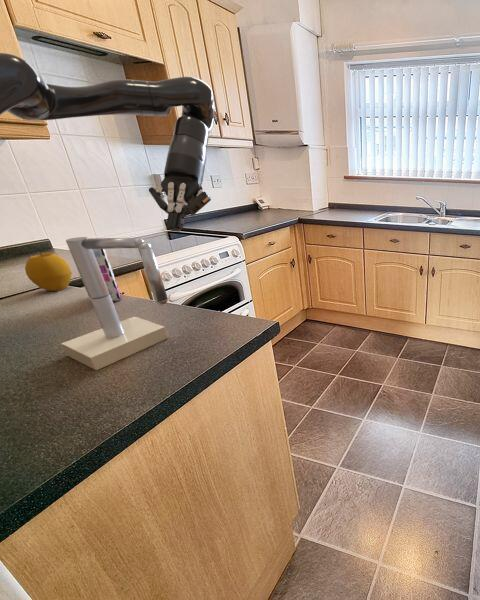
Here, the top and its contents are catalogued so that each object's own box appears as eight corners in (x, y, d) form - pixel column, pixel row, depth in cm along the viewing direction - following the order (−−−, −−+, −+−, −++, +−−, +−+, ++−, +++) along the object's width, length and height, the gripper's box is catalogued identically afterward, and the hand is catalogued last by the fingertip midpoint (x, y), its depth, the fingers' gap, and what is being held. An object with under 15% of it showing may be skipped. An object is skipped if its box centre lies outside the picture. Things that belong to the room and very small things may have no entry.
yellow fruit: (48, 285, 108) (31, 250, 104) (84, 282, 111) (69, 247, 106) (27, 296, 100) (8, 258, 95) (67, 292, 103) (51, 255, 98)
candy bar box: (122, 300, 97) (101, 244, 90) (100, 305, 94) (77, 248, 87) (120, 289, 105) (101, 237, 98) (99, 293, 102) (78, 240, 95)
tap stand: (96, 370, 66) (71, 315, 61) (66, 355, 71) (41, 303, 66) (168, 338, 77) (152, 289, 72) (138, 327, 82) (122, 281, 77)
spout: (89, 309, 68) (60, 240, 63) (101, 302, 71) (75, 237, 66) (164, 307, 69) (142, 239, 63) (172, 300, 72) (152, 235, 66)
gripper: (222, 173, 83) (212, 238, 80) (165, 168, 82) (152, 234, 78) (209, 154, 76) (197, 225, 72) (146, 148, 75) (131, 220, 71)
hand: (173, 230), depth 75 cm, fingers closed
